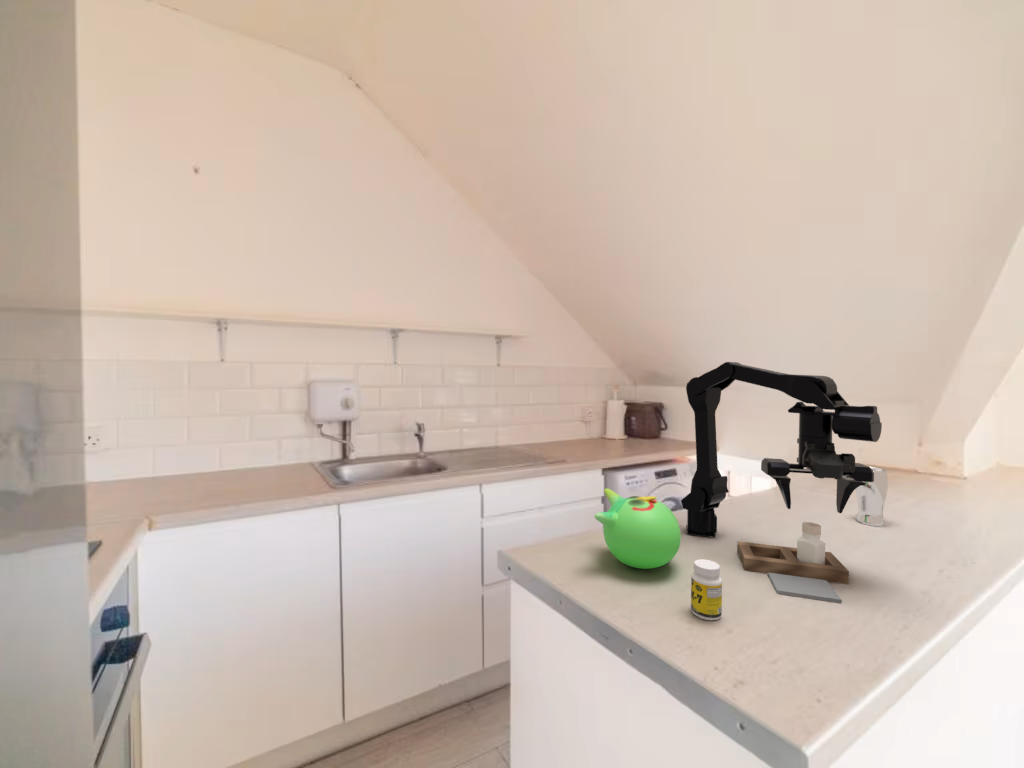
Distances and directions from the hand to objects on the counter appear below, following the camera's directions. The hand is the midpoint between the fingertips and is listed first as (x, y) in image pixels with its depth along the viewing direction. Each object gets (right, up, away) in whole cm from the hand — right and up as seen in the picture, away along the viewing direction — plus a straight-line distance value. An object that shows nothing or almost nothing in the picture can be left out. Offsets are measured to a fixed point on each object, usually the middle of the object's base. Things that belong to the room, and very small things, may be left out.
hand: (813, 510), depth 92 cm
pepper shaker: (-1, -12, 0) cm, 12 cm away
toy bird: (-36, -12, +2) cm, 38 cm away
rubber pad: (-8, -12, -9) cm, 17 cm away
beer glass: (+36, -12, +30) cm, 49 cm away
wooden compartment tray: (-5, -12, +1) cm, 13 cm away
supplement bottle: (-30, -12, -18) cm, 37 cm away
